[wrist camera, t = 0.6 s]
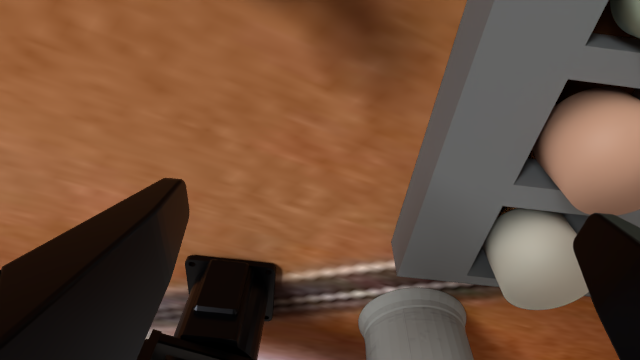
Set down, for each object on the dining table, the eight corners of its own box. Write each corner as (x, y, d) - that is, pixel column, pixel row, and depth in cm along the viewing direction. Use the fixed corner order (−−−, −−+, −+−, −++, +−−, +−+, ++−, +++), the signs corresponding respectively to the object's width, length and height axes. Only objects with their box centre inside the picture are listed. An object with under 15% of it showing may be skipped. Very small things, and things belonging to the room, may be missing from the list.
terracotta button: (604, 178, 20) (647, 221, 17) (516, 168, 20) (546, 210, 17) (662, 93, 17) (725, 128, 14) (560, 80, 17) (604, 113, 14)
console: (587, 263, 27) (613, 299, 24) (391, 241, 26) (397, 276, 24) (877, -112, 14) (988, -117, 12) (520, -167, 14) (559, -184, 11)
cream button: (544, 267, 24) (571, 313, 21) (470, 259, 24) (488, 305, 21) (583, 210, 21) (620, 255, 19) (500, 200, 21) (524, 244, 18)
